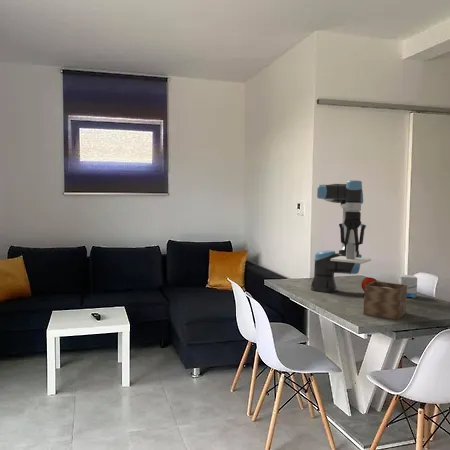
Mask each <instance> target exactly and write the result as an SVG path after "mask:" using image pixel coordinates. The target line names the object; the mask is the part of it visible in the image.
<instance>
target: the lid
mask: <svg viewBox="0 0 450 450" xmlns="http://www.w3.org/2000/svg"><path fill="white" fill-rule="evenodd" d="M354 245H355V243H352V242H350V243H347V258H346V256H338V257H335V258H331V259H330V261H339V262H350V263H361V264H360V265H362V264H363V265H364V264H365V263H369V262H371V261H372V259H371V258H369V257H368V258H367V257H361V258H358V257H356V258H353V253H354Z"/></svg>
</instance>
